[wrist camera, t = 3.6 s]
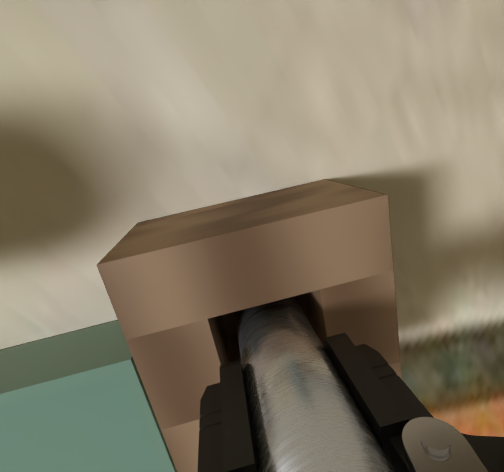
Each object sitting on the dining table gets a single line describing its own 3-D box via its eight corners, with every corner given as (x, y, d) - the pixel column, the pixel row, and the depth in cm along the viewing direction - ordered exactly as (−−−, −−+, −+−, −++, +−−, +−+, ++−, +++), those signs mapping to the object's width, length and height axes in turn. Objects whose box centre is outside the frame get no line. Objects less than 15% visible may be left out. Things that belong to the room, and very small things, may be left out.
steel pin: (293, 253, 15) (554, 579, 4) (305, 321, 16) (531, 732, 5) (214, 272, 15) (227, 690, 3) (232, 340, 16) (288, 823, 5)
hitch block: (324, 179, 16) (387, 194, 10) (345, 336, 19) (404, 415, 13) (137, 222, 15) (96, 264, 10) (189, 378, 18) (181, 482, 13)
